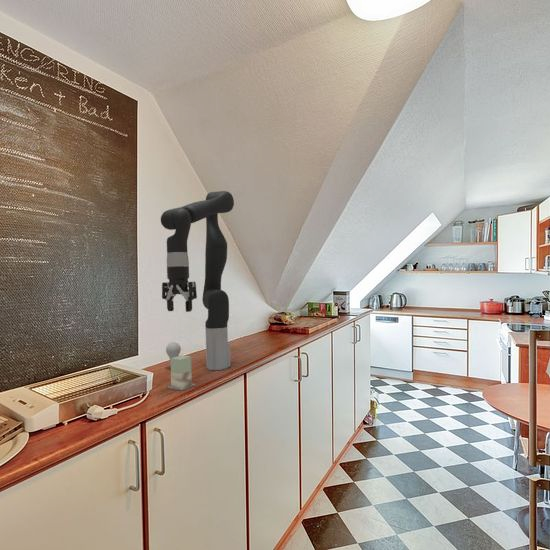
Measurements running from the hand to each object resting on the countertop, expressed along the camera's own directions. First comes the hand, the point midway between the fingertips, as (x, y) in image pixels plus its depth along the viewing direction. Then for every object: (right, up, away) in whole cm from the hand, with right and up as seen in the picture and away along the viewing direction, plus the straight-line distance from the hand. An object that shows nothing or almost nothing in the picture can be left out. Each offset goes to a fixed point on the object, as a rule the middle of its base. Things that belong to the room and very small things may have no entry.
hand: (179, 311), depth 125 cm
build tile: (+1, -27, 0) cm, 27 cm away
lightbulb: (-10, -27, +26) cm, 39 cm away
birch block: (+1, -26, 0) cm, 26 cm away
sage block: (+1, -21, 0) cm, 21 cm away
